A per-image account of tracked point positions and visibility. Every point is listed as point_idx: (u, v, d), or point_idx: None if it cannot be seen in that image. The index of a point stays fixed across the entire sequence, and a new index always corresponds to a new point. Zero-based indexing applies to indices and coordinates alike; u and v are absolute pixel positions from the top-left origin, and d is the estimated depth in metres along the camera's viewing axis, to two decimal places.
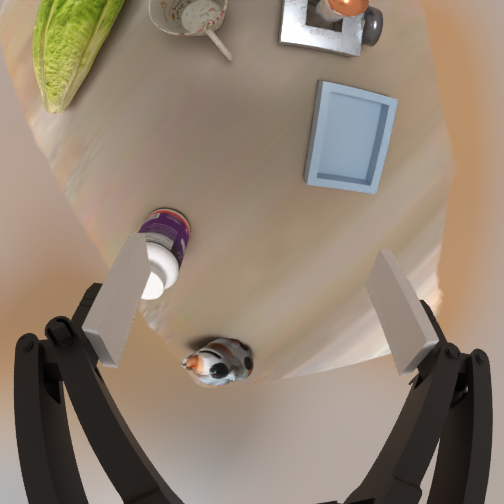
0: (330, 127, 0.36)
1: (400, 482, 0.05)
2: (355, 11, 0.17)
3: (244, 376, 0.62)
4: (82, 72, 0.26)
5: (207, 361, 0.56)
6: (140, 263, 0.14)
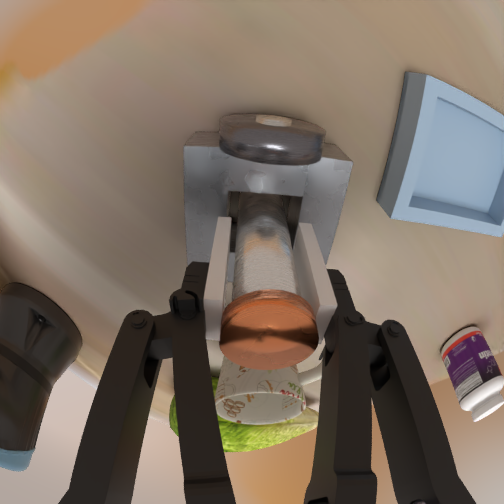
0: (447, 188, 0.20)
1: (345, 477, 0.05)
2: (306, 335, 0.11)
3: None
4: (294, 417, 0.36)
5: None
6: (229, 244, 0.16)
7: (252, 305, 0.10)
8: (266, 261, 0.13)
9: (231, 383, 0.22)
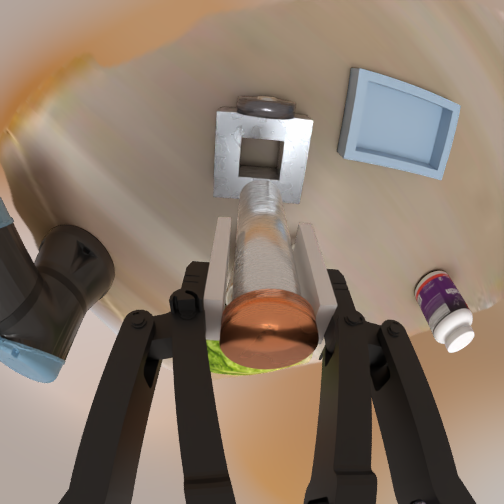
0: (388, 143, 0.31)
1: (345, 477, 0.05)
2: (306, 335, 0.11)
3: None
4: None
5: None
6: (229, 244, 0.16)
7: (252, 304, 0.10)
8: (266, 260, 0.13)
9: None
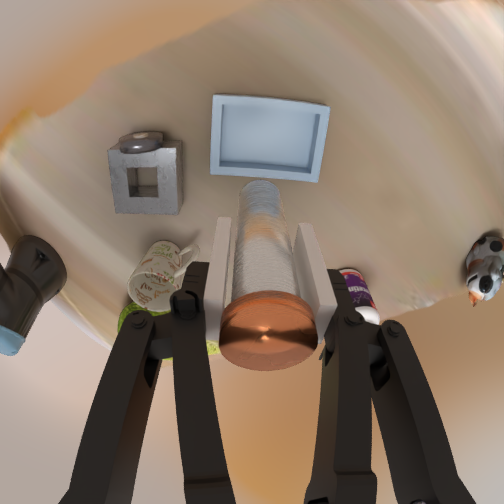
0: (259, 154, 0.39)
1: (345, 477, 0.05)
2: (305, 336, 0.11)
3: None
4: None
5: (474, 289, 0.46)
6: (229, 244, 0.16)
7: (251, 306, 0.10)
8: (266, 261, 0.13)
9: (135, 271, 0.40)
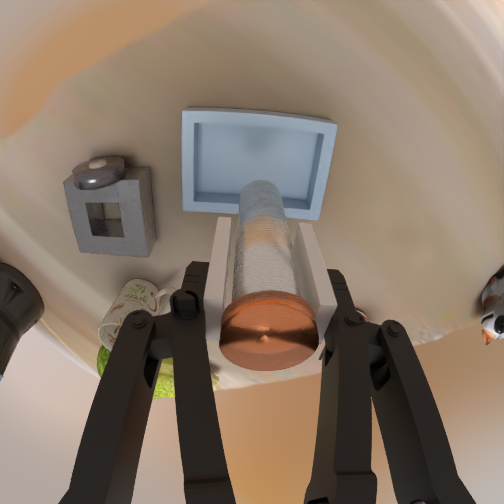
0: (245, 184, 0.31)
1: (345, 477, 0.05)
2: (306, 336, 0.11)
3: None
4: None
5: (489, 328, 0.39)
6: (229, 244, 0.16)
7: (252, 306, 0.10)
8: (266, 261, 0.13)
9: (104, 319, 0.33)
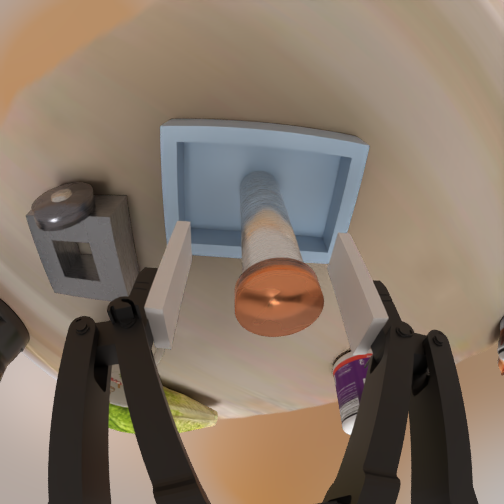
0: None
1: (373, 477, 0.05)
2: (312, 298, 0.12)
3: None
4: (183, 411, 0.41)
5: None
6: (187, 249, 0.15)
7: (265, 270, 0.12)
8: (272, 237, 0.14)
9: None
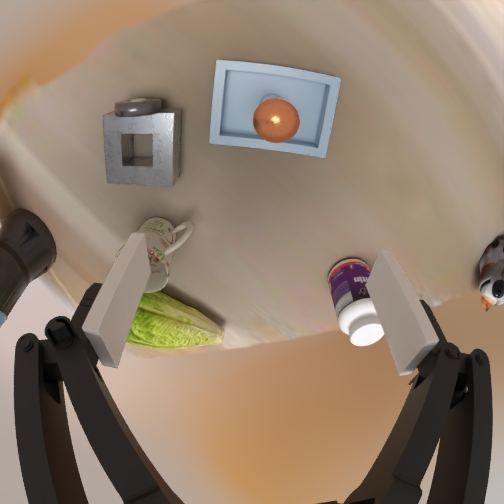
0: None
1: (400, 482, 0.05)
2: (293, 115, 0.22)
3: None
4: (194, 320, 0.51)
5: (487, 293, 0.43)
6: (140, 263, 0.14)
7: (269, 99, 0.22)
8: None
9: (123, 246, 0.36)
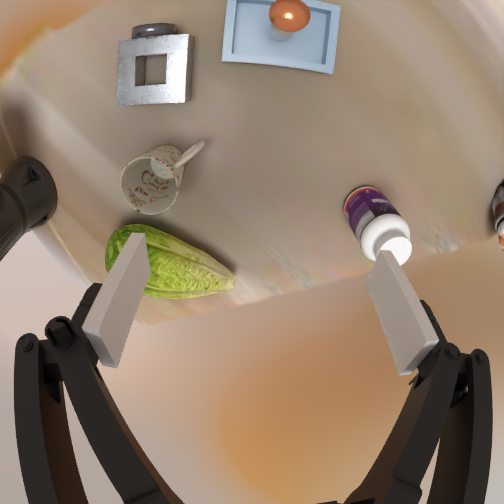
0: (272, 48, 0.32)
1: (400, 482, 0.05)
2: (304, 10, 0.19)
3: None
4: (203, 259, 0.48)
5: None
6: (140, 263, 0.14)
7: None
8: None
9: None
